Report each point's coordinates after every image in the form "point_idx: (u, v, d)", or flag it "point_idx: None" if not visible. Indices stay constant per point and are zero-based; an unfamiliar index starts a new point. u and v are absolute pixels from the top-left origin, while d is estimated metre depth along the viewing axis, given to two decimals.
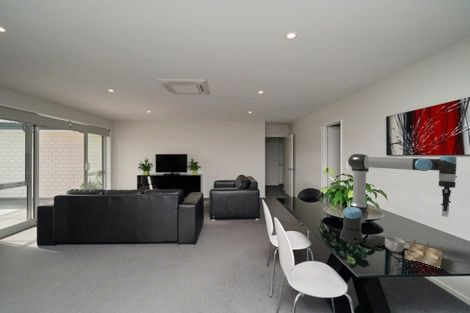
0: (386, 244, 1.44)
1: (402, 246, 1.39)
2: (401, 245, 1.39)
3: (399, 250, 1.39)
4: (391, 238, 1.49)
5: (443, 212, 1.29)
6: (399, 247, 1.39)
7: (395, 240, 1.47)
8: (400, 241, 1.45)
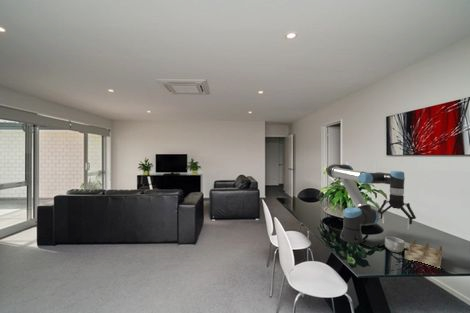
0: (386, 244, 1.44)
1: (402, 246, 1.39)
2: (401, 245, 1.39)
3: (399, 250, 1.39)
4: (391, 238, 1.49)
5: None
6: (399, 247, 1.39)
7: (395, 240, 1.47)
8: (400, 241, 1.45)
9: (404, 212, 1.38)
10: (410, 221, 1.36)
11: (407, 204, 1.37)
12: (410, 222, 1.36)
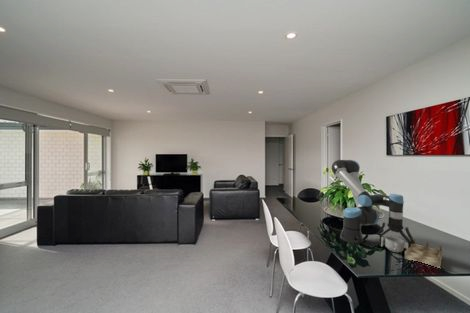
0: (386, 244, 1.44)
1: (402, 246, 1.39)
2: (401, 245, 1.39)
3: (399, 250, 1.39)
4: (391, 238, 1.49)
5: None
6: (399, 247, 1.39)
7: (395, 240, 1.47)
8: (400, 241, 1.45)
9: (403, 236, 1.38)
10: (409, 245, 1.36)
11: (406, 228, 1.37)
12: (409, 246, 1.36)
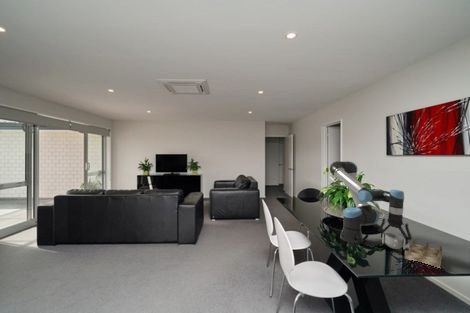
0: (386, 241, 1.44)
1: (402, 243, 1.39)
2: (401, 242, 1.39)
3: (399, 247, 1.39)
4: (391, 235, 1.49)
5: None
6: (399, 244, 1.39)
7: (395, 237, 1.48)
8: (400, 238, 1.45)
9: (401, 232, 1.39)
10: (406, 241, 1.38)
11: (406, 225, 1.37)
12: (406, 242, 1.38)
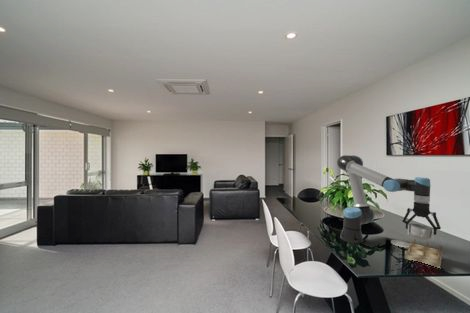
0: (412, 231, 1.36)
1: (430, 233, 1.31)
2: (429, 232, 1.31)
3: (427, 237, 1.31)
4: (416, 226, 1.41)
5: (408, 230, 1.40)
6: (427, 234, 1.31)
7: (421, 227, 1.40)
8: (426, 228, 1.37)
9: (429, 221, 1.31)
10: (434, 231, 1.30)
11: (434, 213, 1.30)
12: (434, 232, 1.30)
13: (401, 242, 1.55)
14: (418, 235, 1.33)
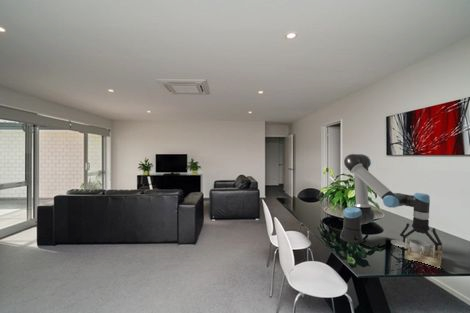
0: (411, 248, 1.37)
1: (429, 250, 1.32)
2: (428, 249, 1.31)
3: (425, 254, 1.32)
4: (415, 241, 1.41)
5: None
6: None
7: (420, 243, 1.40)
8: (425, 244, 1.37)
9: (429, 237, 1.31)
10: (436, 247, 1.29)
11: (433, 229, 1.30)
12: (436, 248, 1.29)
13: (401, 242, 1.55)
14: (417, 252, 1.33)
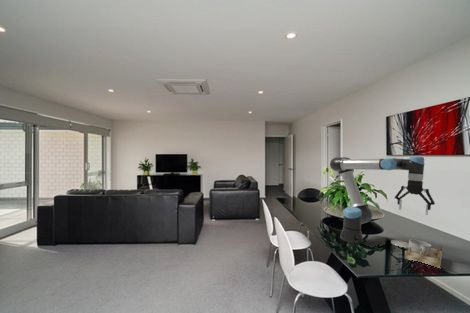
0: (411, 248, 1.37)
1: (429, 250, 1.32)
2: (428, 249, 1.31)
3: (425, 254, 1.32)
4: (415, 241, 1.41)
5: None
6: None
7: (420, 243, 1.40)
8: (425, 244, 1.37)
9: (423, 198, 1.36)
10: (429, 207, 1.34)
11: (426, 190, 1.35)
12: (429, 208, 1.35)
13: (401, 242, 1.55)
14: (417, 252, 1.33)
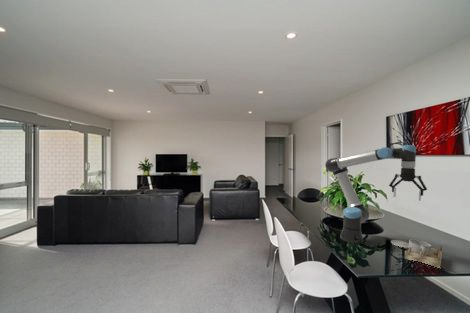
0: (411, 248, 1.37)
1: (429, 250, 1.32)
2: (428, 249, 1.31)
3: (425, 254, 1.32)
4: (415, 241, 1.41)
5: (394, 193, 1.52)
6: None
7: (420, 243, 1.40)
8: (425, 244, 1.37)
9: (415, 184, 1.42)
10: (421, 193, 1.41)
11: (418, 176, 1.41)
12: (421, 193, 1.41)
13: (401, 242, 1.55)
14: (417, 252, 1.33)
